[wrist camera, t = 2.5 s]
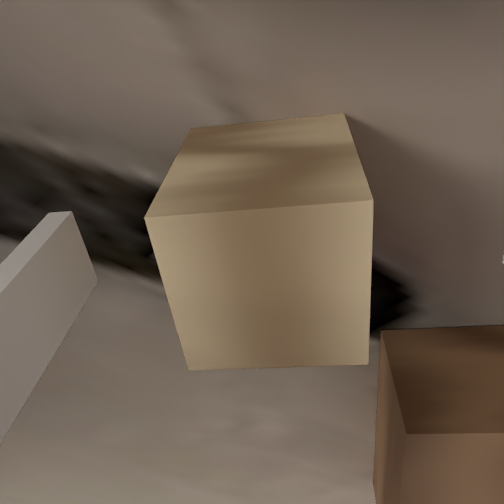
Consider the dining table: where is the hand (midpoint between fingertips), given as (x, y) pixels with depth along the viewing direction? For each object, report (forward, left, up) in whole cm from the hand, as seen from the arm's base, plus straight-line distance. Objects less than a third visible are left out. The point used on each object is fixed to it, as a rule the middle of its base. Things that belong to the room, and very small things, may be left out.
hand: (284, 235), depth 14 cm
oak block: (0, 0, -3) cm, 3 cm away
